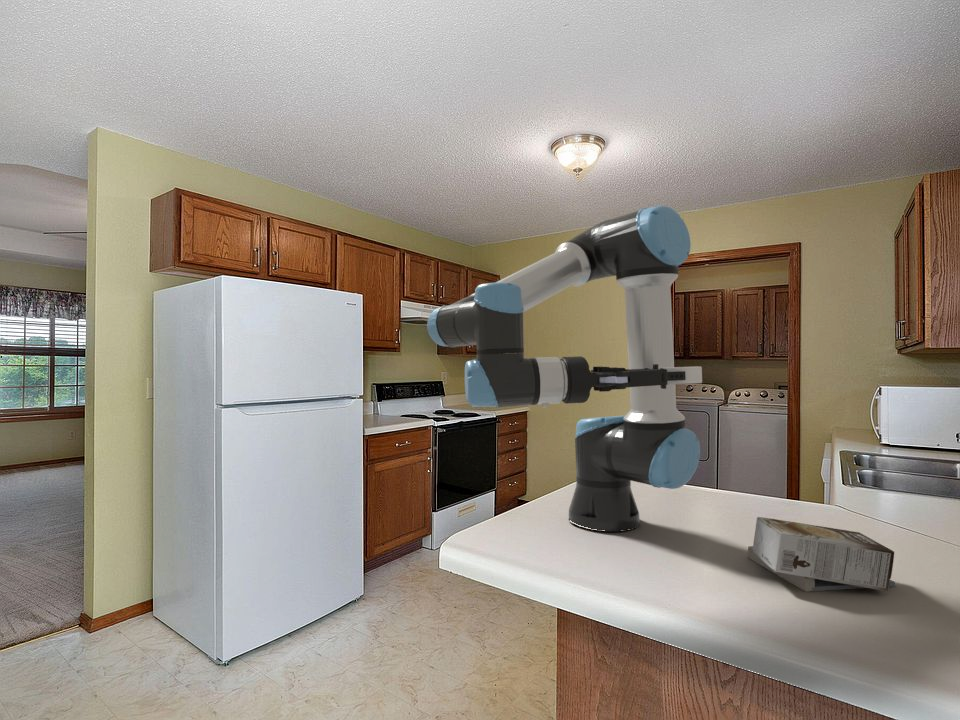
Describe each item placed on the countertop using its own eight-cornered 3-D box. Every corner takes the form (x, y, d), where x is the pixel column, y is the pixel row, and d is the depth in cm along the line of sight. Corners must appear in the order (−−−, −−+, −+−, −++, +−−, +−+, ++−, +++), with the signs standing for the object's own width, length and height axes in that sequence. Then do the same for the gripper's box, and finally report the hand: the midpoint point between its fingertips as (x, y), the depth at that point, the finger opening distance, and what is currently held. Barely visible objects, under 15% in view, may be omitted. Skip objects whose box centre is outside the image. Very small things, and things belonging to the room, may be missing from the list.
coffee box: (756, 514, 88) (858, 530, 86) (751, 552, 88) (852, 568, 86) (781, 533, 79) (896, 551, 77) (775, 574, 79) (889, 593, 77)
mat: (748, 557, 93) (748, 546, 93) (825, 553, 95) (825, 542, 95) (805, 591, 79) (805, 578, 79) (895, 586, 81) (895, 573, 81)
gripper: (551, 400, 91) (680, 394, 93) (573, 407, 78) (722, 400, 81) (550, 357, 91) (679, 352, 93) (572, 357, 78) (721, 351, 80)
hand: (699, 374), depth 87 cm, fingers closed
